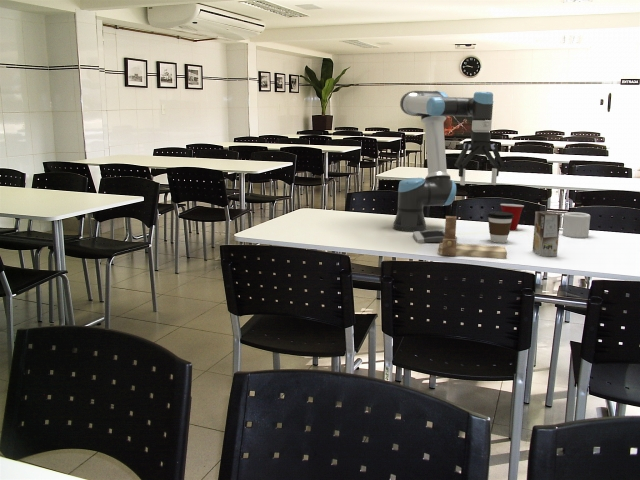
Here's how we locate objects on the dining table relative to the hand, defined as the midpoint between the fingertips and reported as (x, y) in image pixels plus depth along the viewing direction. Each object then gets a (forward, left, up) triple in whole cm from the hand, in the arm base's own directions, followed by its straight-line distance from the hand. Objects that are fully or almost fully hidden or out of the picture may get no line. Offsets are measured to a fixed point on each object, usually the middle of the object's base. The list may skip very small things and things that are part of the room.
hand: (478, 184), depth 248 cm
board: (-1, -18, -25) cm, 31 cm away
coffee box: (+26, -10, -25) cm, 38 cm away
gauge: (-10, -19, -24) cm, 33 cm away
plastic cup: (+17, +41, -25) cm, 51 cm away
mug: (+43, +33, -25) cm, 60 cm away
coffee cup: (+10, +10, -25) cm, 29 cm away
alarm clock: (-17, +6, -25) cm, 31 cm away
